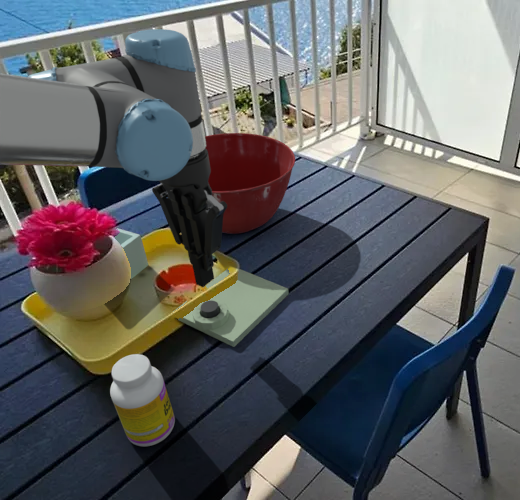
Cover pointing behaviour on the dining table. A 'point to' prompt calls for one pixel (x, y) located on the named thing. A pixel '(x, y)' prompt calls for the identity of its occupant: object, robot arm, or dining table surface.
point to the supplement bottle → (141, 400)
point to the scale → (237, 307)
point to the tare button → (209, 309)
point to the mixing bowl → (248, 177)
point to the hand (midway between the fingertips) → (205, 281)
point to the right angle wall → (133, 250)
